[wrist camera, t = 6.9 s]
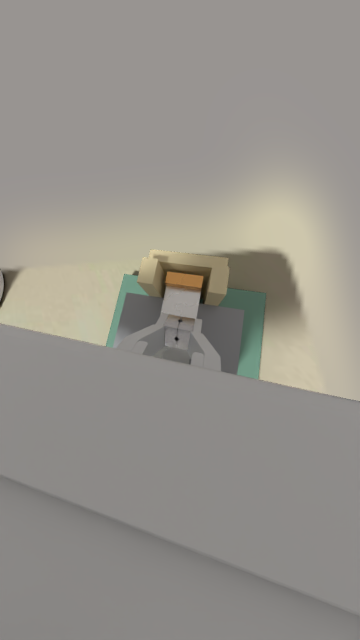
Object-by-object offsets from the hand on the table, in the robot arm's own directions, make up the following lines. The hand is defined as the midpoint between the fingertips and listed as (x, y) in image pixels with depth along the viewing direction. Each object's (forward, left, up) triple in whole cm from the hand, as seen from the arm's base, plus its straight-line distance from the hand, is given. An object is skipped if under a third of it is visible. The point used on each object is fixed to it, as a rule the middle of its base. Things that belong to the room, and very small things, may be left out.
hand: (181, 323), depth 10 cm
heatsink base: (0, -2, -9) cm, 9 cm away
